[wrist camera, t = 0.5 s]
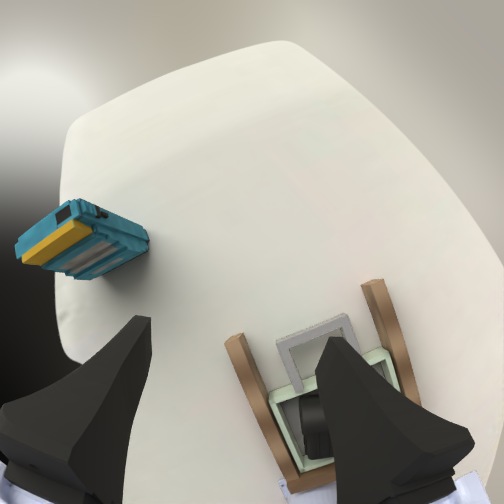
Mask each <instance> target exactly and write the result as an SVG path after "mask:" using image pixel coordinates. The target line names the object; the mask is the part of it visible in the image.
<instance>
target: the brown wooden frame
mask: <svg viewBox="0 0 504 504" xmlns="http://www.w3.org/2000/svg"><path fill="white" fill-rule="evenodd" d="M361 287H362V290H363V292H364V295H365V298H366V300H367V303H368V306H369V309H370V312H371V314H372V317H373V320H374V323H375V326H376V329H377V332H378V335H379V338H380V341H381V344H382V347H383V348H384V349H385V350H387V351H389V354H390V357H391V360H392V364H393V367H394V370H395V374H396V377H397V381H398V384H399V388H400V391H401V393H402V394H403V395H405V396H406V397H407V398H409V399H410V400H411V401H413V402H414V403H416V404H417V405H419V406H421V401H420V397H419V393H418V389H417V385H416V381H415V377H414V373H413V369H412V366H411V362H410V359H409V355H408V352H407V348H406V345H405V341H404V338H403V335H402V332H401V329H400V325H399V322H398V319H397V316H396V313H395V310H394V307H393V304H392V301H391V299H390V296H389V293H388V290H387V287H386V285H385V282H384V279H375V280H371V281H369V282H366V283H364V284H362V285H361ZM224 344H225V347H226V349H227V352H228V354H229V357H230V359H231V362H232V364H233V366H234V369H235V371H236V373H237V376H238V378H239V381H240V383H241V385H242V388H243V390H244V392H245V394H246V397H247V399H248V401H249V404H250V406H251V408H252V410H253V413H254V415H255V417H256V419H257V421H258V424H259V426H260V428H261V430H262V432H263V434H264V437H265V439H266V441H267V443H268V445H269V447H270V449H271V451H272V453H273V455H274V458H275V460H276V462H277V464H278V466H279V468H280V470H281V472H282V474H283V476H284V478H285V480H286V482H287V488H288V490H289V492H290V494H291V495H292V494H295V493H299V492H302V491H306V490H309V489H313V488H316V487H319V486H322V485H325V484H328V483H331V482H334V481H336V473H335V463H334V462H333V463H330V464H327V465H324V466H321V467H318V468H315V469H312V470H309V471H306V472H302V473H300V470H299V468H298V466H297V464H296V462H295V460H294V457H293V455H292V453H291V451H290V449H289V446H288V444H287V442H286V440H285V438H284V435H283V433H282V431H281V429H280V426H279V424H278V422H277V419H276V417H275V415H274V413H273V410H272V408H271V406H270V403H269V401H268V400H269V395H268V392H267V390H266V388H265V385H264V383H263V380H262V378H261V376H260V373H259V371H258V368H257V366H256V364H255V361H254V359H253V356H252V354H251V351H250V349H249V346H248V344H247V341H246V339H245V336H244V334H243V333H240V334H238V335H235V336H232V337H230V338H229V339H228V340H227V341H226V342H225V343H224ZM421 407H422V406H421Z"/></svg>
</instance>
